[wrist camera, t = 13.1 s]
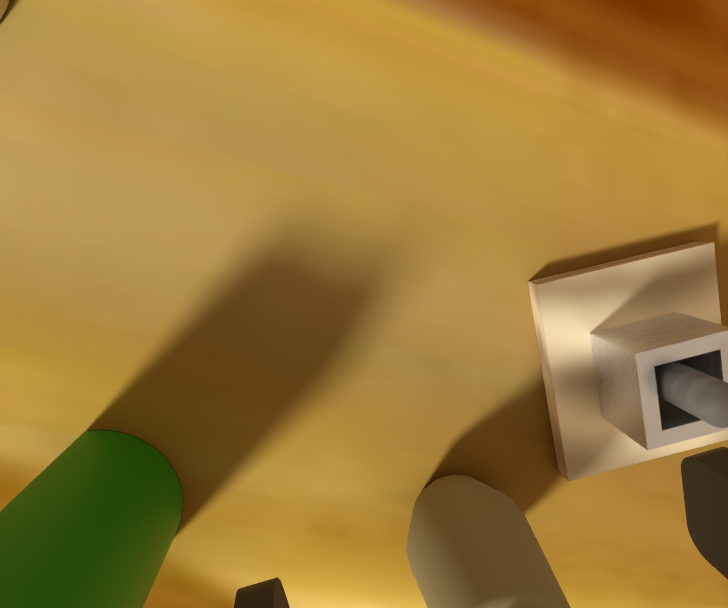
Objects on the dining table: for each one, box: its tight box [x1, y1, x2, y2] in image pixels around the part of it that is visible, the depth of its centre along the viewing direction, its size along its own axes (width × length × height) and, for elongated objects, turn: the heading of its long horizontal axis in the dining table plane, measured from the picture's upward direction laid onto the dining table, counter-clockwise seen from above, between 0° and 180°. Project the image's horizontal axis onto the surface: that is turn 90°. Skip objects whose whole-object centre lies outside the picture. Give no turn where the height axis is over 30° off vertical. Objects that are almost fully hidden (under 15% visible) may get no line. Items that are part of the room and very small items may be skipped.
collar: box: [589, 312, 728, 450], centre depth 33 cm, size 6×6×5 cm
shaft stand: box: [528, 241, 728, 481], centre depth 32 cm, size 14×12×9 cm
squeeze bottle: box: [406, 474, 570, 608], centre depth 29 cm, size 8×8×18 cm
